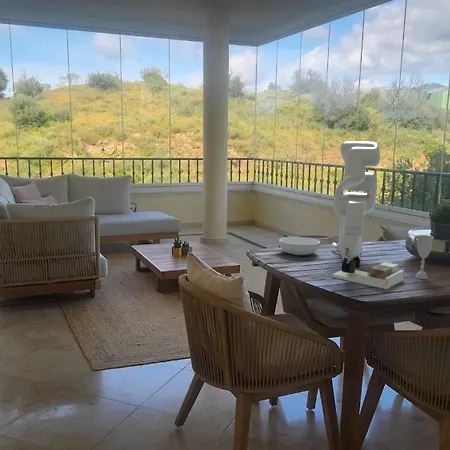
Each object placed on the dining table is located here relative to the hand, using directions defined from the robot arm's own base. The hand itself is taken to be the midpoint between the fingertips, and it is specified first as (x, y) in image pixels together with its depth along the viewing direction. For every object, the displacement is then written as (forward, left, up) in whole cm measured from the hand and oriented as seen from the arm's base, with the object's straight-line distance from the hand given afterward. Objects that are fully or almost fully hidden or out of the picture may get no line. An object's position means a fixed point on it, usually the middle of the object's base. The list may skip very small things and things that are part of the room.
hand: (350, 270), depth 212 cm
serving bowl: (-40, +23, -4) cm, 46 cm away
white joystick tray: (+6, +4, -4) cm, 8 cm away
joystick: (+7, 0, -2) cm, 7 cm away
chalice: (+22, +23, -4) cm, 32 cm away
